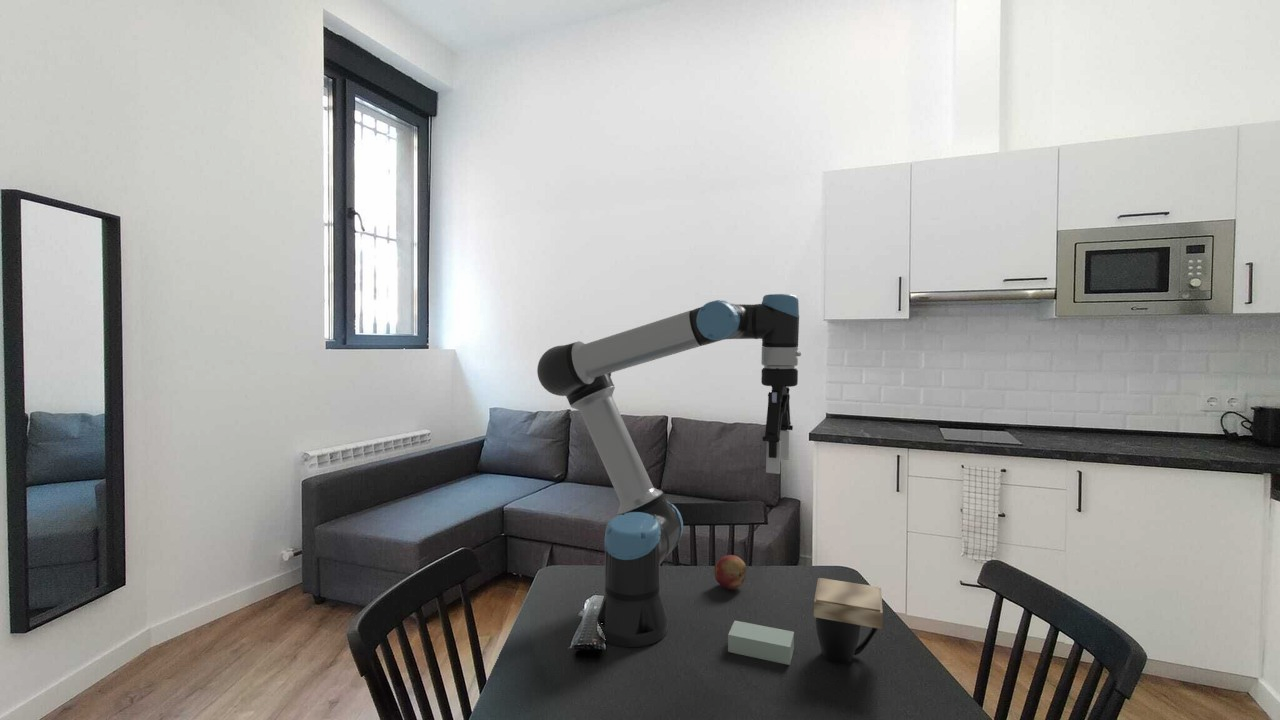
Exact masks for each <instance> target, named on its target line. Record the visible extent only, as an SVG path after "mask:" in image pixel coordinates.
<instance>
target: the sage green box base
mask: <svg viewBox="0 0 1280 720" xmlns="http://www.w3.org/2000/svg"><path fill="white" fill-rule="evenodd" d="M794 647H795V631H792V630H786V629H782V628H781V629H780V628H776V627H771V626H766V625H760V624H755V623H750V622H745V621H739V620H734V622H733V623H732V625H731V628H730V630H729V632H728V635H727V652H728V653H733V654H737V655H742V656H746V657H750V658H756V659H759V660H760V659H761V660H765V661H769V662H774V663H779V664H784V665H786V666H787V665H788V666H790V665H791V663H792V658H793V654H794V650H795V648H794Z"/></svg>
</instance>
